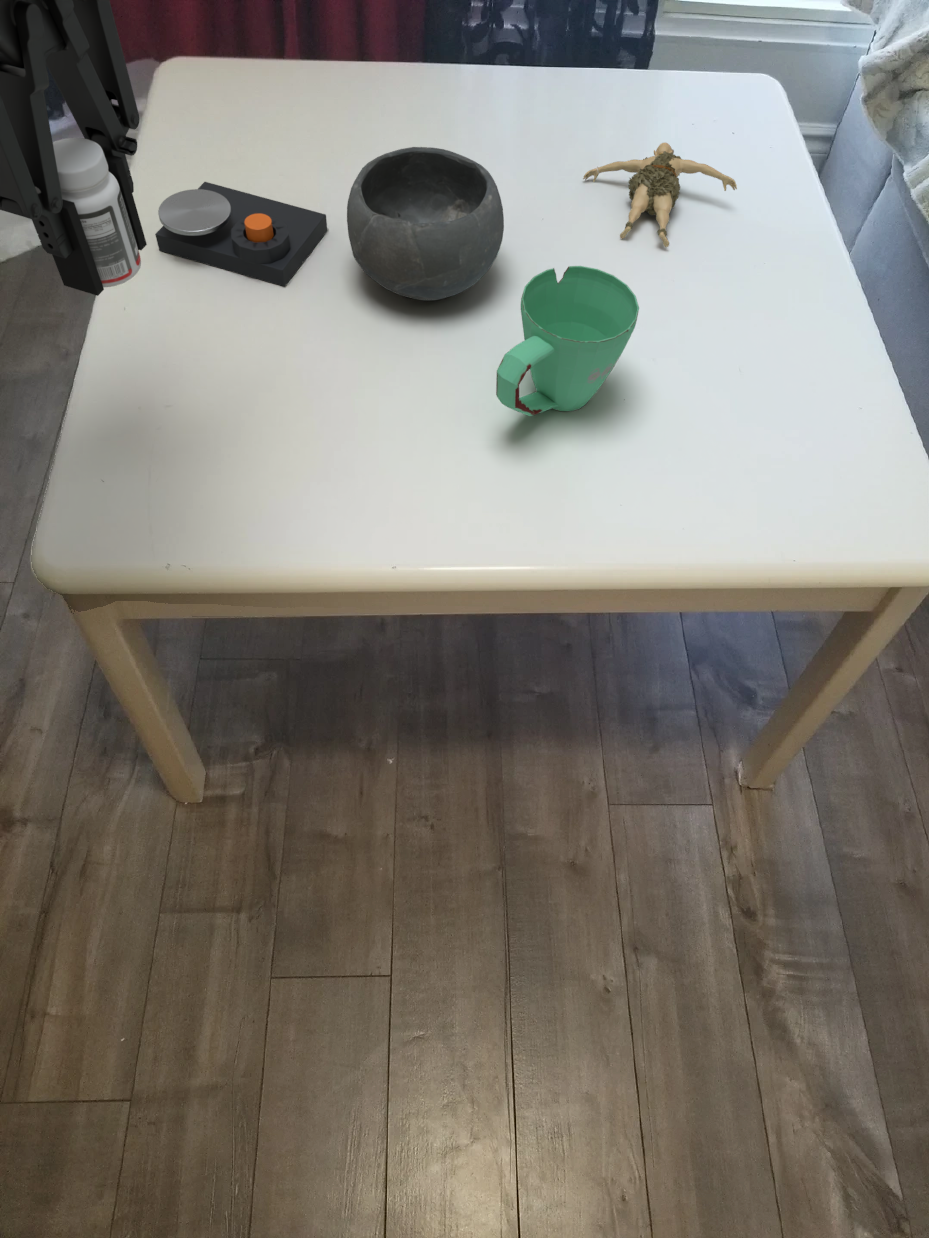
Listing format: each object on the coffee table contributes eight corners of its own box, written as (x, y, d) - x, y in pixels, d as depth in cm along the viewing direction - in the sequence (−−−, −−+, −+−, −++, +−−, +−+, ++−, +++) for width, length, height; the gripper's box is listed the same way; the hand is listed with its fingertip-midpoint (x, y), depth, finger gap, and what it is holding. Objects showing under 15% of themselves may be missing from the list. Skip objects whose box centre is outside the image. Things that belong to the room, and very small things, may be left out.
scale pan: (161, 239, 88) (160, 234, 87) (157, 197, 92) (155, 192, 91) (235, 232, 89) (234, 227, 89) (227, 190, 93) (227, 186, 92)
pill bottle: (96, 241, 66) (57, 126, 59) (154, 256, 66) (122, 142, 58) (59, 280, 64) (15, 165, 57) (120, 296, 63) (82, 182, 56)
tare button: (278, 231, 90) (276, 217, 89) (266, 246, 89) (263, 232, 87) (254, 225, 90) (252, 210, 89) (242, 239, 89) (239, 225, 88)
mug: (553, 342, 88) (568, 250, 79) (637, 391, 85) (662, 301, 76) (454, 422, 81) (459, 332, 73) (541, 479, 78) (557, 391, 70)
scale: (327, 231, 96) (325, 200, 93) (283, 288, 90) (279, 257, 87) (207, 198, 98) (201, 166, 95) (158, 252, 92) (149, 221, 89)
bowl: (481, 338, 88) (489, 246, 79) (332, 310, 89) (323, 216, 80) (511, 247, 96) (520, 154, 87) (373, 222, 97) (370, 128, 88)
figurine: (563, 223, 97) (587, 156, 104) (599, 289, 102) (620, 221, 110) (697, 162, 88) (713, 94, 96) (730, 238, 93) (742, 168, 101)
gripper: (-89, -59, 40) (79, 359, 59) (135, -190, 49) (216, 209, 68) (-229, -94, 41) (-19, 327, 60) (15, -215, 50) (129, 184, 70)
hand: (106, 264), depth 64 cm, fingers closed on pill bottle, 5 cm apart
